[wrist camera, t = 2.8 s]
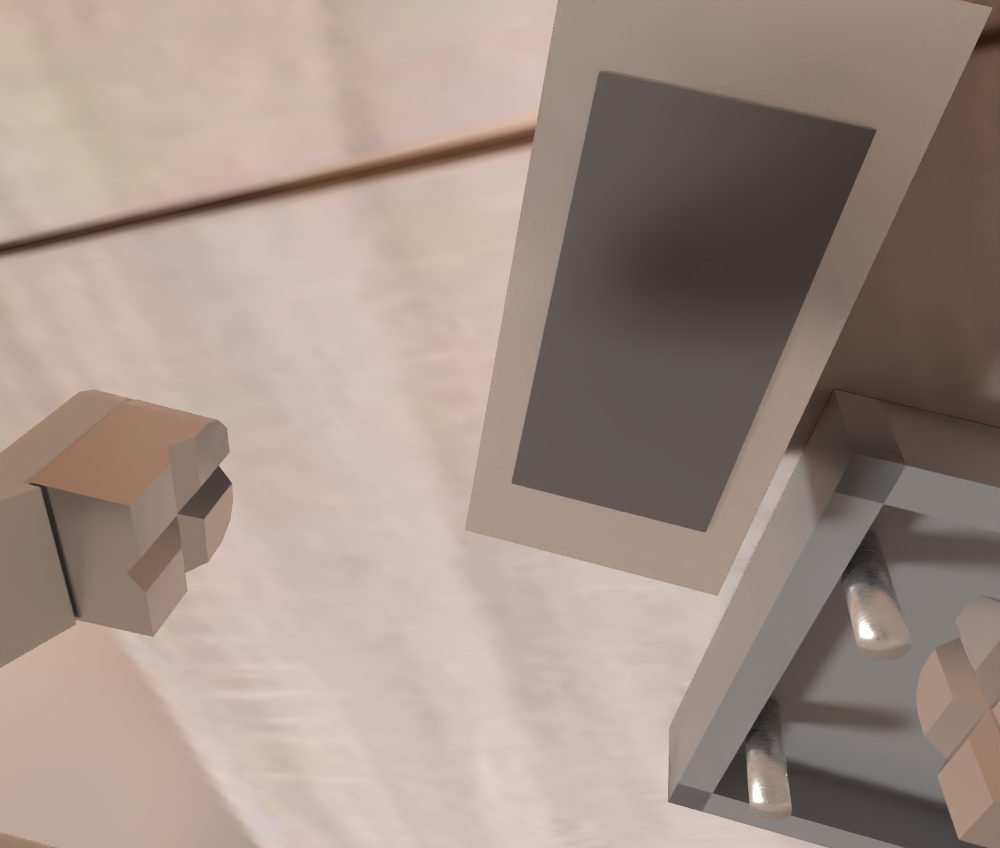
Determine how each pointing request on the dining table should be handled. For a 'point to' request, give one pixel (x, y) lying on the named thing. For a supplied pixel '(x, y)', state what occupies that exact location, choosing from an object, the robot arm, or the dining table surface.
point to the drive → (695, 260)
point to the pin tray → (845, 634)
